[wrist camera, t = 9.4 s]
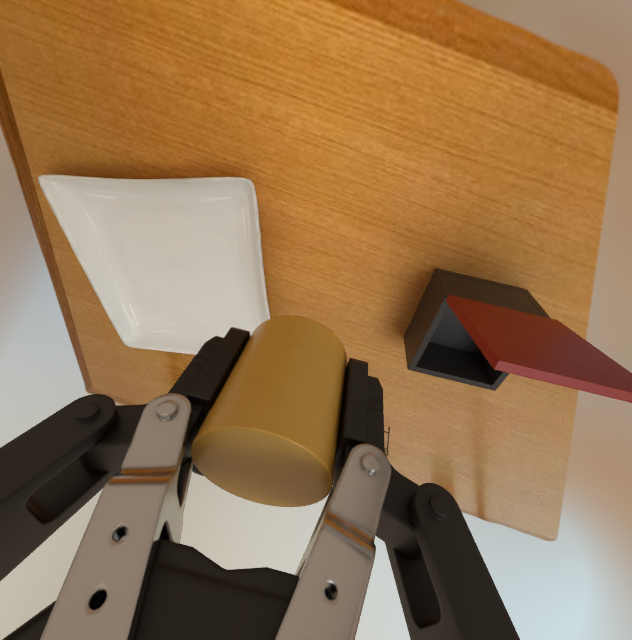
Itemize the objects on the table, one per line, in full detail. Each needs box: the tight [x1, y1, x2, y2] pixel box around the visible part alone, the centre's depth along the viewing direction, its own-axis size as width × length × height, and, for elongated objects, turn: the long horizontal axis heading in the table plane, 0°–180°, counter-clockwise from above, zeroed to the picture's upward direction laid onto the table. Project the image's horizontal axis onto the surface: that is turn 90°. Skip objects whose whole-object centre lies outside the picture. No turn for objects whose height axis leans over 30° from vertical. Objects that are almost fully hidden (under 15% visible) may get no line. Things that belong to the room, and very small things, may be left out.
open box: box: [404, 269, 551, 391], centre depth 38 cm, size 12×12×7 cm
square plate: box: [38, 174, 271, 355], centre depth 42 cm, size 27×27×4 cm
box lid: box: [446, 295, 632, 403], centre depth 26 cm, size 13×12×1 cm
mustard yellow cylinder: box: [191, 315, 347, 507], centre depth 10 cm, size 4×4×5 cm
